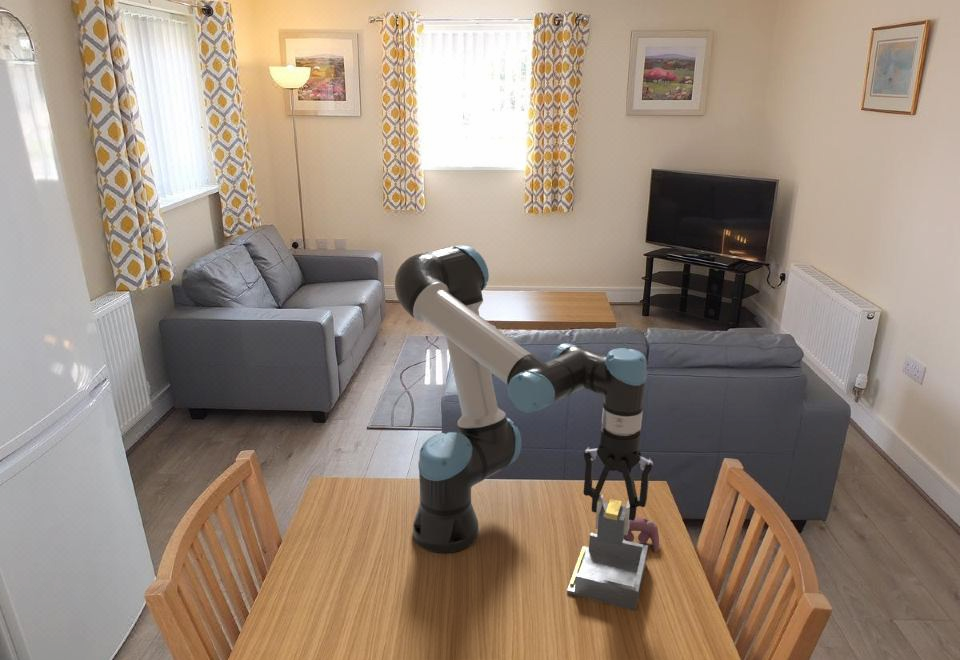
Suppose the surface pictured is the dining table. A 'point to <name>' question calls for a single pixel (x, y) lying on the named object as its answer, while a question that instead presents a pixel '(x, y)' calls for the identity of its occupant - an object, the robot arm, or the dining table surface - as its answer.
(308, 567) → the dining table surface
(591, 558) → the open box
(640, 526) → the video game controller
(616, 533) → the grey and yellow block
